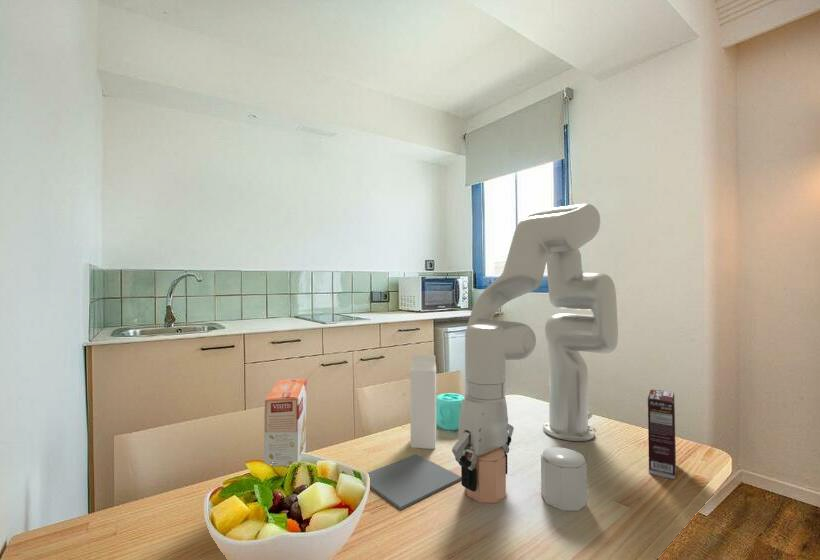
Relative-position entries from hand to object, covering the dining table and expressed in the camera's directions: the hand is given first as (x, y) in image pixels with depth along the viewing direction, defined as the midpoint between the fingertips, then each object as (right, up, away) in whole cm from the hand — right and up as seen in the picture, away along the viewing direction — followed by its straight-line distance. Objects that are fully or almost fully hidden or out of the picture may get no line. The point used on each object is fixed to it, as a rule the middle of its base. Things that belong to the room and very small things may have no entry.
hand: (485, 479), depth 74 cm
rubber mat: (-14, -2, +5) cm, 15 cm away
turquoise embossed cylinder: (-3, -3, +34) cm, 35 cm away
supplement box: (+40, -3, +9) cm, 41 cm away
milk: (-11, -3, +22) cm, 25 cm away
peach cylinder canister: (0, -2, 0) cm, 2 cm away
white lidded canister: (+14, -2, -2) cm, 14 cm away
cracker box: (-37, -3, -3) cm, 37 cm away
